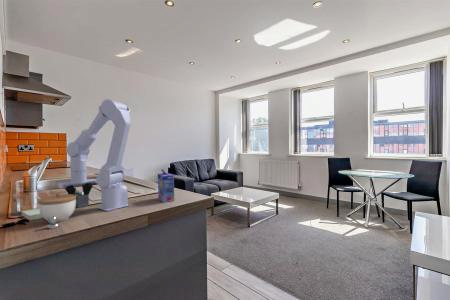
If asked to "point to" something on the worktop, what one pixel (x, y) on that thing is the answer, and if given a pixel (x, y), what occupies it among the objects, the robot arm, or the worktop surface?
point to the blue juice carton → (165, 186)
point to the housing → (82, 199)
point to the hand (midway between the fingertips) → (79, 202)
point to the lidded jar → (57, 206)
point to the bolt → (53, 223)
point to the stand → (32, 214)
